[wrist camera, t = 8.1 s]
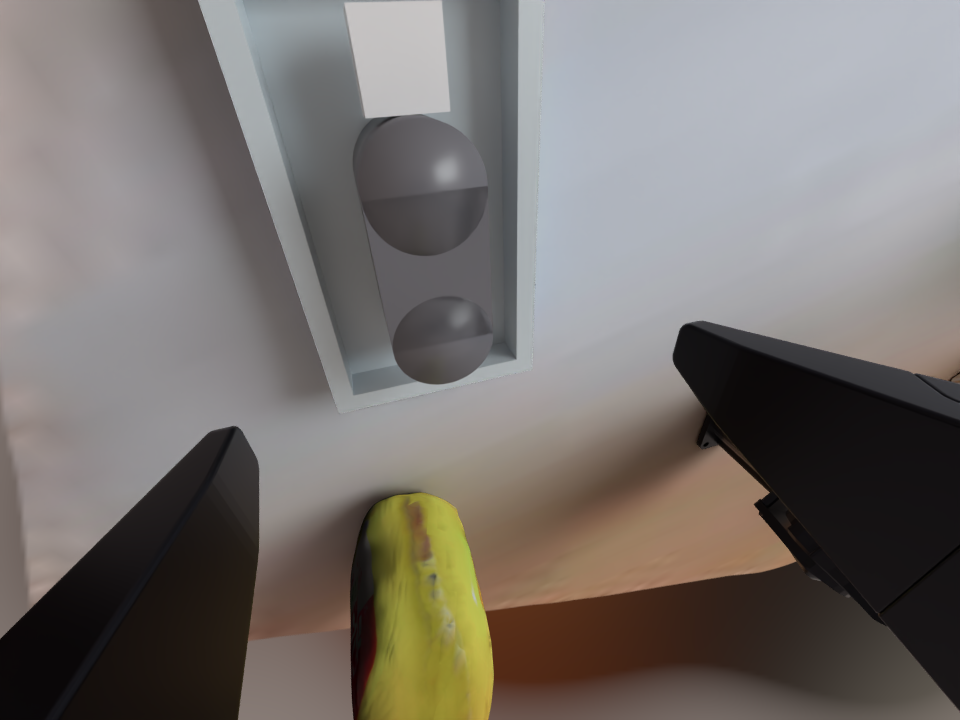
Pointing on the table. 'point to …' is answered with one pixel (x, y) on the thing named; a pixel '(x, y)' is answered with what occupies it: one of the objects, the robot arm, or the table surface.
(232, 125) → the table surface
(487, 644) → the bottle
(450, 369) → the plug
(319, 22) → the dock tray
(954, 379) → the decorative jar
